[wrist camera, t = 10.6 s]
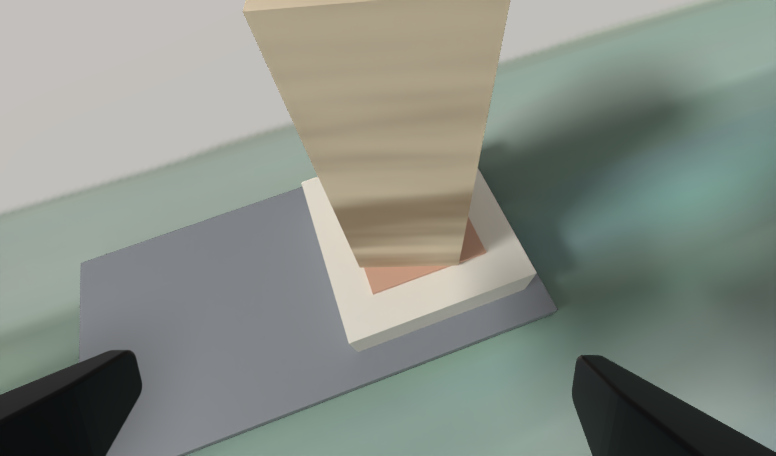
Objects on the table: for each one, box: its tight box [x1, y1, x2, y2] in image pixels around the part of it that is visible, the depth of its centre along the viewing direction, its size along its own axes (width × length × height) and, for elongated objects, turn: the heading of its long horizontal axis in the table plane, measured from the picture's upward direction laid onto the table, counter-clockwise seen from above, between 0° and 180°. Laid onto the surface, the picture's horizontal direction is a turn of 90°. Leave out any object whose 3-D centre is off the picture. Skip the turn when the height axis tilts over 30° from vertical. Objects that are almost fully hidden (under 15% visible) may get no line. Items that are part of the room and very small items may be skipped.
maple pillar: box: [243, 0, 510, 268], centre depth 13 cm, size 5×5×13 cm
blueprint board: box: [79, 168, 558, 456], centre depth 21 cm, size 24×12×4 cm, turn 109°
